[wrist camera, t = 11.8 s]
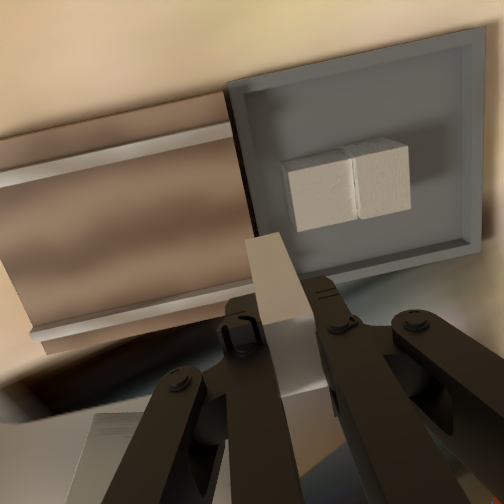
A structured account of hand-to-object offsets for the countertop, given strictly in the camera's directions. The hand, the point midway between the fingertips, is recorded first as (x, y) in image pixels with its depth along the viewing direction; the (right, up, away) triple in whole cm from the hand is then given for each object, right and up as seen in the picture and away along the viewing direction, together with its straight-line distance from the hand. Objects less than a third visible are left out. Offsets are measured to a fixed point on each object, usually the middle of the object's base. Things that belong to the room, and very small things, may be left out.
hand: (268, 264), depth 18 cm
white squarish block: (+5, +6, +19) cm, 20 cm away
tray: (+9, +8, +19) cm, 23 cm away
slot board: (-11, +3, +19) cm, 22 cm away
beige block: (+7, +6, +16) cm, 19 cm away
